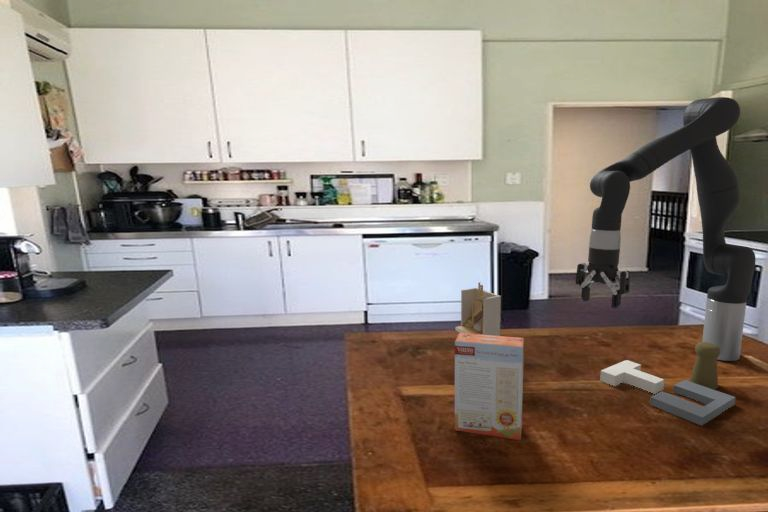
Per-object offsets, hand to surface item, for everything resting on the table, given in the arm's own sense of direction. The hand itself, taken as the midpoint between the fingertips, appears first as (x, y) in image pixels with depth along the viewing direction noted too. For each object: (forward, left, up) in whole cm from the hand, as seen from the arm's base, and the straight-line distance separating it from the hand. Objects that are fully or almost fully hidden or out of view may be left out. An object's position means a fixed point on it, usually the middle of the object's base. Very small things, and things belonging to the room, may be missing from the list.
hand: (599, 304), depth 124 cm
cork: (-14, +21, -19) cm, 32 cm away
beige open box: (+24, -21, -20) cm, 38 cm away
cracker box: (+47, +5, -19) cm, 51 cm away
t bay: (0, +25, -19) cm, 31 cm away
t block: (0, +11, -19) cm, 22 cm away
